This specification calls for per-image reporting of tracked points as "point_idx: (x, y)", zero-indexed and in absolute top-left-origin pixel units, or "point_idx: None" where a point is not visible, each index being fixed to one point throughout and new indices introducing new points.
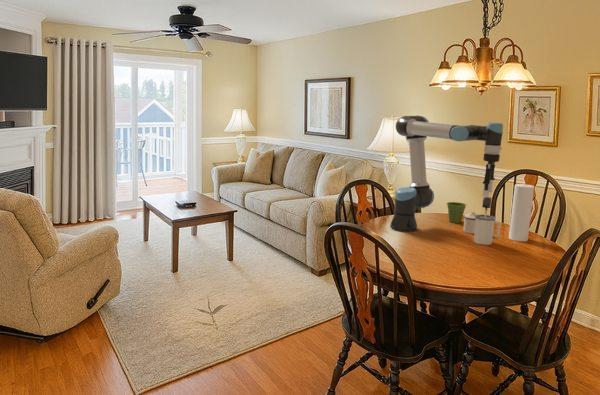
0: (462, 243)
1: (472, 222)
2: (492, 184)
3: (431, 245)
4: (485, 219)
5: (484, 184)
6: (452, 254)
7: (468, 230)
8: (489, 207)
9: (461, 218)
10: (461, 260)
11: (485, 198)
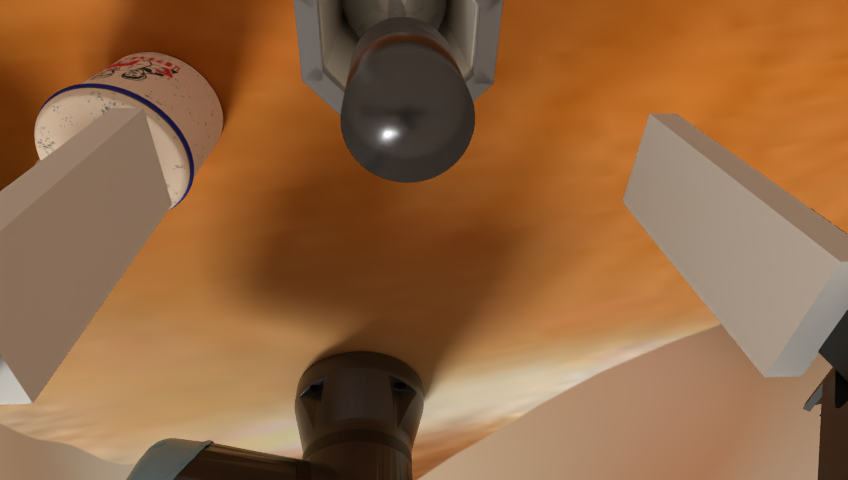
0: (496, 117)
1: (193, 133)
2: (29, 193)
3: (601, 246)
4: (498, 27)
5: (792, 350)
6: (738, 131)
7: (219, 129)
8: (437, 31)
9: None
10: (845, 70)
11: (466, 144)
